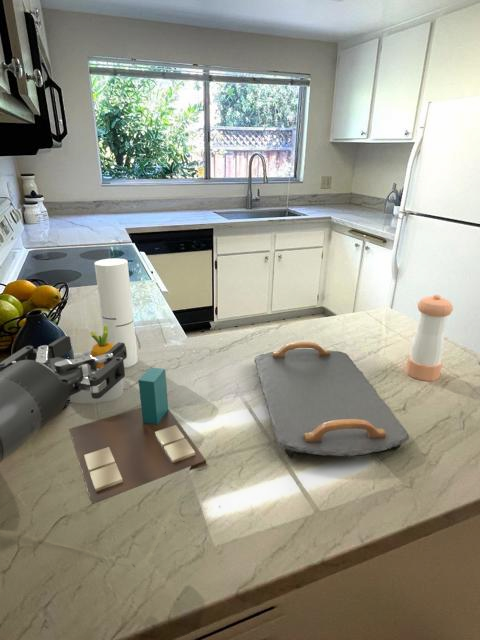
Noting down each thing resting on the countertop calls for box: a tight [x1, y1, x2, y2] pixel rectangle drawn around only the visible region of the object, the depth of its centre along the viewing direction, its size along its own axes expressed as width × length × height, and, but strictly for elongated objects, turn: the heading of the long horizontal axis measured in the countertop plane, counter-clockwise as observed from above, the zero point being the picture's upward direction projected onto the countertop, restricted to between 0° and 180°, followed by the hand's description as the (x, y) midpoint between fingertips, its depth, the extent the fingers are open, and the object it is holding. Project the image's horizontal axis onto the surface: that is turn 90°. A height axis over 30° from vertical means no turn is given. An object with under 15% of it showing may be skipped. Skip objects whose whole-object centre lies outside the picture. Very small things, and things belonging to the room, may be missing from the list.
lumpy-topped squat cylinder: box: [69, 347, 127, 404], centre depth 84 cm, size 10×13×9 cm
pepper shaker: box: [405, 294, 454, 382], centre depth 90 cm, size 7×7×19 cm
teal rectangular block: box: [138, 366, 169, 424], centre depth 75 cm, size 3×5×9 cm, turn 166°
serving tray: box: [254, 341, 410, 458], centre depth 82 cm, size 39×23×6 cm, turn 5°
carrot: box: [90, 326, 115, 369], centre depth 83 cm, size 5×5×15 cm
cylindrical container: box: [93, 257, 139, 369], centre depth 95 cm, size 7×7×25 cm
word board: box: [68, 407, 207, 505], centre depth 69 cm, size 18×20×1 cm
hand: (95, 345), depth 56 cm, fingers open, 8 cm apart
